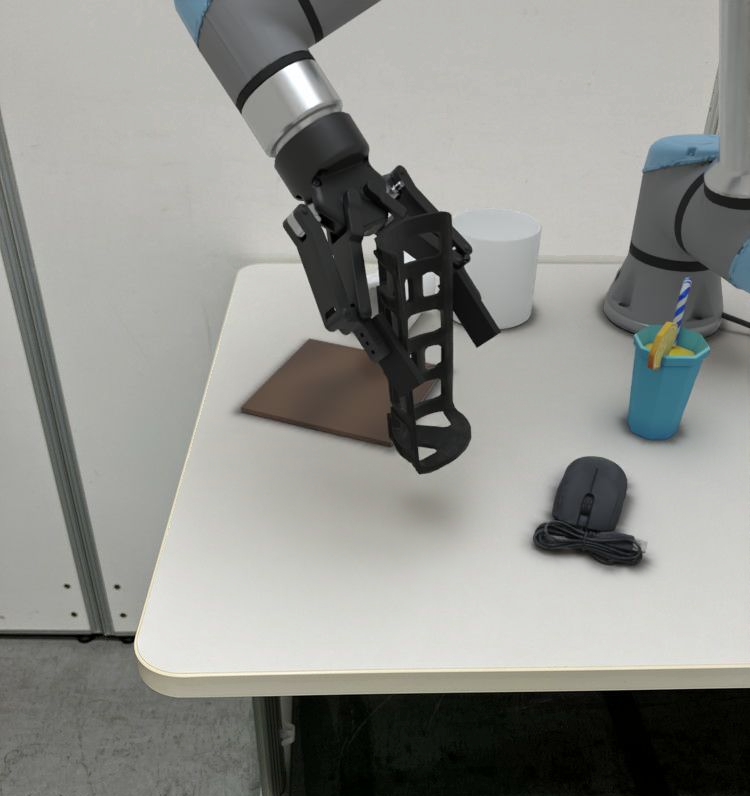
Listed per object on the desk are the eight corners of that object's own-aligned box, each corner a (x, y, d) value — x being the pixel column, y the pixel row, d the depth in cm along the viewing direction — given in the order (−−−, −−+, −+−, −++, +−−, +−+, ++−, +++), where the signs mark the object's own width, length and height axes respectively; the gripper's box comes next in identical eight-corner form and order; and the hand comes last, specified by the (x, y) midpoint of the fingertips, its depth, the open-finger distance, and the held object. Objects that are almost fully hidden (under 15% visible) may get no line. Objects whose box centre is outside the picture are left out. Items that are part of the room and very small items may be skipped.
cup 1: (548, 318, 123) (560, 231, 115) (475, 337, 118) (483, 247, 111) (497, 285, 131) (506, 202, 123) (427, 302, 126) (432, 216, 119)
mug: (434, 313, 123) (438, 256, 118) (411, 346, 116) (413, 286, 111) (351, 299, 126) (351, 243, 122) (323, 330, 119) (322, 271, 114)
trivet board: (444, 370, 111) (445, 366, 111) (391, 447, 98) (391, 442, 97) (309, 342, 116) (309, 338, 116) (240, 411, 103) (240, 407, 102)
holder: (462, 480, 79) (454, 256, 68) (377, 476, 81) (354, 257, 69) (477, 414, 88) (471, 206, 76) (399, 412, 89) (382, 208, 78)
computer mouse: (647, 479, 94) (655, 448, 91) (642, 571, 82) (651, 538, 80) (548, 463, 96) (553, 432, 93) (530, 551, 84) (535, 518, 82)
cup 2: (627, 386, 108) (653, 266, 99) (695, 400, 106) (727, 278, 97) (606, 447, 98) (632, 319, 89) (680, 464, 96) (715, 334, 87)
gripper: (370, 132, 86) (497, 334, 88) (185, 197, 72) (340, 436, 73) (418, 81, 80) (553, 298, 82) (226, 140, 66) (394, 401, 67)
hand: (452, 363), depth 78 cm, fingers closed on holder, 10 cm apart
